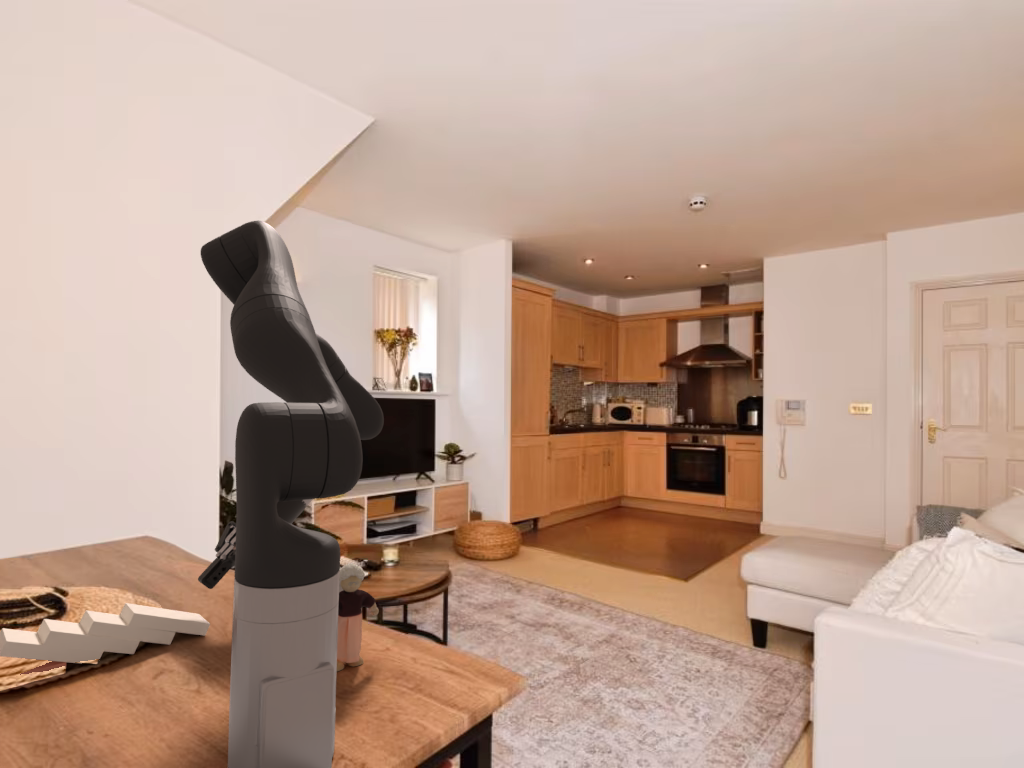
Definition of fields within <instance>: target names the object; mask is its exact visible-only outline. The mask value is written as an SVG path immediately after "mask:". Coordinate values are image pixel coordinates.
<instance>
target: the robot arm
mask: <svg viewBox="0 0 1024 768" xmlns="http://www.w3.org/2000/svg"><path fill="white" fill-rule="evenodd" d="M200 258H201V262H202V264H203V265H204V268H205V269H206V271H207V274H208V275H209V277H210V278H211V280H212V281H213V282H214V283H215V285H216V286H217V288H219V290H220V291H221V292H222V293H223V295H224V296H225V297H226V298H227V299H228V300H229V302H231V303H232V304H233V307H232V309H231V314H230V320H229V326H230V333H231V338H232V344H233V349H234V354H235V357H236V359H237V361H238V362H239V365H240V366H241V367H242V368H243V369H244V371H245V372H246V373H247V374H248V375H249V376H250V377H252V378H253V379H254V381H256V382H257V383H258V384H260V385H261V386H262V387H263V388H265V389H267V390H268V391H269V392H271V393H273V394H274V395H276V396H277V397H278V398H280V399H281V400H283V401H284V402H255V403H251V404H249V405H247V406H246V407H245V408H244V409H243V410H242V412H241V414H240V416H239V419H238V422H237V427H236V432H235V441H234V442H235V443H234V445H235V447H234V449H235V450H234V451H235V453H234V455H235V456H234V460H235V461H234V463H235V464H234V465H235V492H236V493H235V494H236V495H235V496H236V497H235V498H236V501H235V502H236V504H235V505H236V520H235V521H236V522H234V520H231V521H229V522H228V523H227V524H226V526H225V528H224V530H223V532H222V534H221V536H220V538H219V540H218V542H217V544H216V546H215V548H214V551H215V552H216V554H215V559H214V560H213V561H212V562H211V563H210V564H209V565H208V566H207V567H206V568H205V569H204V570H203V572H202V573H201V574H200V575H199V576H198V578H197V581H198V582H199V583H201V584H202V585H203V586H204V587H206V588H207V589H209V590H212V589H214V588H215V587H216V586H217V585H218V583H219V582H220V581H221V580H222V579H223V577H224V576H225V575H226V574H228V572H229V571H230V570H231V569H234V575H233V576H234V579H233V585H234V586H233V602H232V603H233V607H232V628H231V629H232V631H231V652H230V653H231V657H230V660H231V661H230V678H229V679H230V683H229V685H230V686H229V709H228V710H229V711H228V741H227V742H228V745H227V746H228V749H227V768H332V766H333V765H332V764H333V763H332V762H333V761H332V759H333V757H334V754H335V753H334V752H335V744H336V743H335V739H336V737H335V735H336V708H337V707H336V704H337V703H336V699H337V697H336V695H337V672H338V671H337V638H338V604H339V577H340V569H341V546H340V543H339V541H338V540H337V539H336V538H335V537H333V536H331V535H330V534H327V533H325V532H320V531H317V530H313V529H308V528H303V527H300V526H298V525H294V524H293V523H294V522H295V520H296V519H297V518H298V517H299V516H300V515H301V514H302V513H303V512H304V511H305V510H306V508H307V507H308V506H309V504H310V503H311V502H312V501H313V500H315V499H316V500H317V499H327V498H333V497H337V496H342V495H345V494H347V493H349V492H350V491H351V490H353V488H355V486H356V485H357V484H358V482H359V480H360V478H361V475H362V472H363V461H364V460H363V458H364V457H363V447H362V441H367V440H372V439H374V438H376V437H377V436H378V435H379V434H380V433H381V432H382V430H383V427H384V422H385V418H384V417H385V416H384V412H383V410H382V408H381V405H380V403H378V401H377V399H375V397H374V396H373V394H371V393H370V392H369V391H368V390H367V389H366V388H365V387H364V386H363V385H362V384H361V382H359V381H358V380H357V379H356V378H354V377H353V376H352V374H350V372H349V370H348V368H347V367H346V365H345V363H344V362H343V361H342V360H341V358H340V356H339V355H338V354H337V352H336V350H335V349H334V348H333V346H332V345H331V344H330V343H329V342H328V341H327V340H326V339H325V338H324V337H322V336H320V335H319V334H317V333H316V330H315V328H314V325H313V322H312V319H311V316H310V314H309V312H308V309H307V307H306V304H305V303H304V301H303V298H302V295H301V294H300V290H299V287H298V284H297V278H296V273H295V267H294V263H293V260H292V256H291V254H290V251H289V249H288V246H287V245H286V243H285V241H284V239H283V238H282V236H281V235H280V234H279V232H278V231H277V230H276V229H275V228H274V227H273V226H271V225H270V224H269V223H267V222H265V221H263V220H252V221H247V222H245V223H243V224H242V225H239V226H237V227H235V228H233V229H231V230H229V231H227V232H226V233H223V234H221V235H220V236H217V237H215V238H213V239H212V240H210V241H208V242H206V243H205V244H203V245H202V246H201V248H200ZM361 440H362V441H361Z"/></svg>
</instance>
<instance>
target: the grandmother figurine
mask: <svg viewBox="0 0 1024 768" xmlns="http://www.w3.org/2000/svg"><path fill="white" fill-rule="evenodd" d="M365 576H366V573H365V571H364V569H363V568H362V566H359V565H358V564H355V563H353V562H349V563H347V564H344V565H343V566H342V567H340V577H339V582H340V584H341V587H342V589H343V591H341V592H339V604H338V638H337V671H336V672H340V671H342V670H343V669H345V663H346V664H347V666H349V667H357V666H361V665H363V664H364V658H363V657H362V656H361V654H360V653H361V649H362V637H363V630H362V629H363V612H362V609H363V608H368V610H369V611H370V615H372V616H378V614H379V612H380V611H379V608H378V607H377V604H376V598H375V597H374V596H373V595H372V594H370V593H369V592H367V591H365V590H362V589H359V588H360V586H361V585H362V581H363V580H364V579H365Z"/></svg>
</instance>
